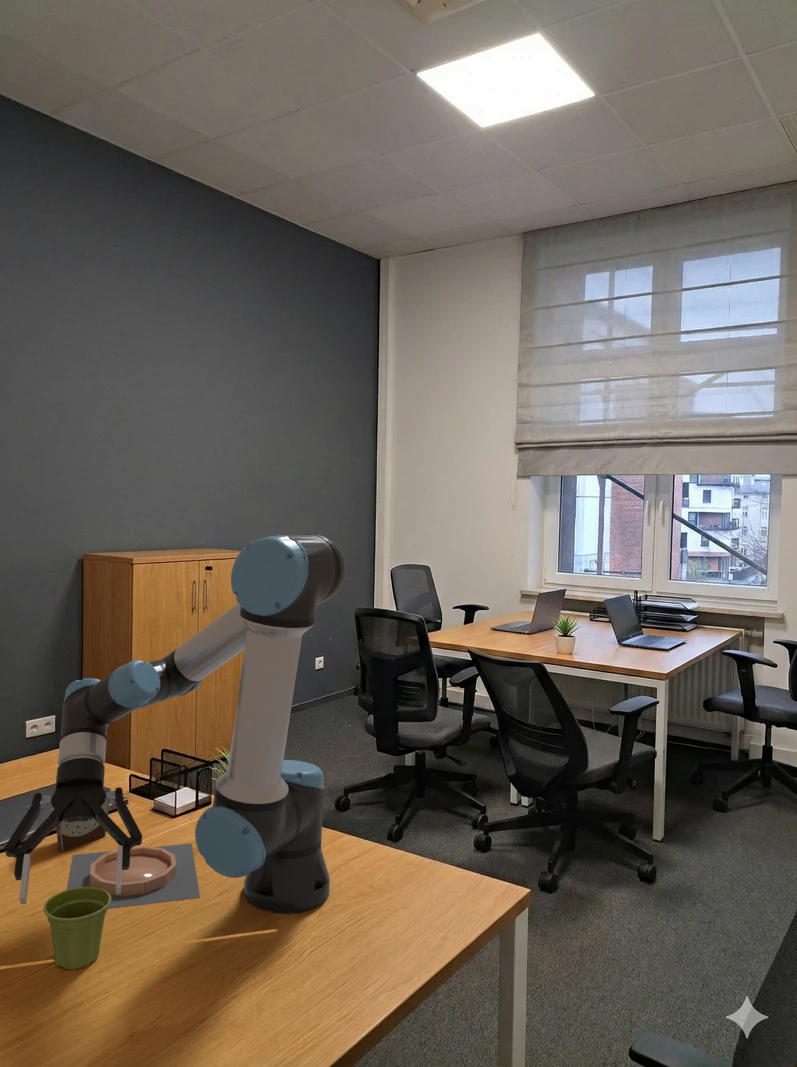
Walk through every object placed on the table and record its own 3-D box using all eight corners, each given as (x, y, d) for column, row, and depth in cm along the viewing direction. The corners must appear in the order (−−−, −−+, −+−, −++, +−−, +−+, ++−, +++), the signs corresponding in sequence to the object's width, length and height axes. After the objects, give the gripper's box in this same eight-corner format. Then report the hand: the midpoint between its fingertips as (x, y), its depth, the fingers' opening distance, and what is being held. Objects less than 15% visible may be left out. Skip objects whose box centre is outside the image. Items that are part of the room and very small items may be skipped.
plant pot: (41, 983, 112) (43, 923, 111) (42, 947, 120) (44, 892, 120) (111, 969, 115) (113, 912, 115) (107, 936, 124) (109, 882, 124)
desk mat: (191, 845, 157) (191, 843, 157) (200, 899, 136) (200, 897, 136) (72, 857, 150) (72, 854, 150) (62, 916, 129) (62, 913, 129)
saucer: (173, 853, 152) (173, 843, 152) (177, 889, 139) (177, 878, 138) (92, 861, 148) (92, 851, 148) (87, 900, 134) (88, 888, 134)
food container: (94, 827, 164) (95, 780, 163) (111, 836, 160) (113, 787, 160) (37, 847, 154) (38, 797, 153) (55, 856, 150) (56, 805, 150)
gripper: (157, 770, 140) (155, 894, 127) (2, 780, 133) (-17, 913, 119) (158, 751, 135) (157, 878, 121) (-3, 760, 127) (-23, 897, 114)
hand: (71, 896), depth 120 cm, fingers open, 13 cm apart
